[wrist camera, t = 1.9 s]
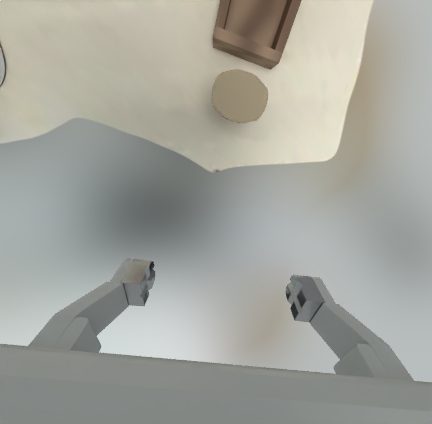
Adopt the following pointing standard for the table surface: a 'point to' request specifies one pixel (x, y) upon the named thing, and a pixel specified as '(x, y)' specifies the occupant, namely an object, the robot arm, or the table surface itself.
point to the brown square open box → (255, 29)
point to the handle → (239, 96)
